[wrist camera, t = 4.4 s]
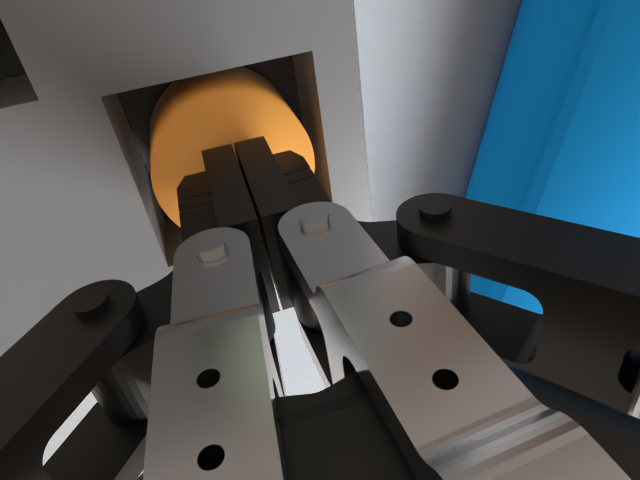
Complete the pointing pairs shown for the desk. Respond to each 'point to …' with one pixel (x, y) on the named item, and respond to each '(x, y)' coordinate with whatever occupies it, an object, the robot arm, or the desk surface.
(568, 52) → the book
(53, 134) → the panel
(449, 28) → the desk surface
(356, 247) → the robot arm
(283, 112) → the button orange
